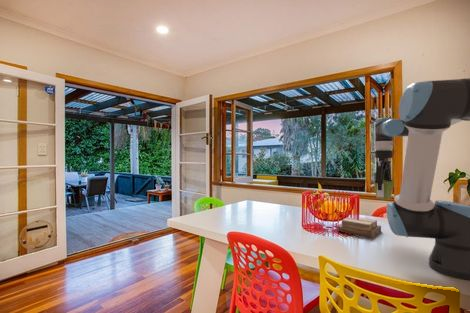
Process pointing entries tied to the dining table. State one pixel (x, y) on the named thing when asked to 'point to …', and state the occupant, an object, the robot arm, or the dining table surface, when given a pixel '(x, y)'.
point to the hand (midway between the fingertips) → (383, 195)
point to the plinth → (360, 232)
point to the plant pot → (385, 189)
